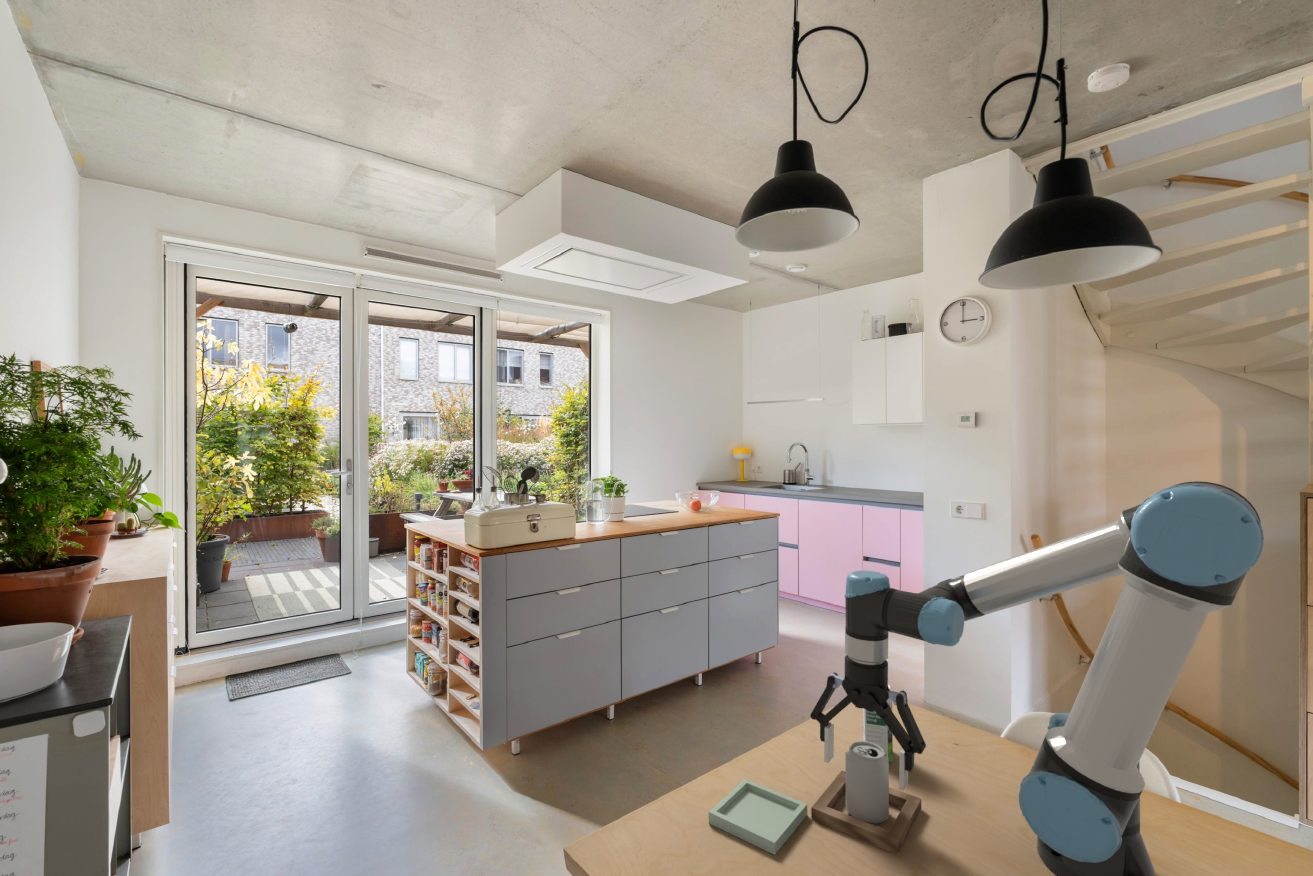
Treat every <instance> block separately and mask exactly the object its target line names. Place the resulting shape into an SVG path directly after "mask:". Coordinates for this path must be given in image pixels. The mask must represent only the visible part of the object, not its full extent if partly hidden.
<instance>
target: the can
mask: <svg viewBox="0 0 1313 876" xmlns="http://www.w3.org/2000/svg"><path fill="white" fill-rule="evenodd" d="M889 764H890V762H889V760H888V759H887V757H886V756H885V751H884V750H883V749H882V748H881V747H880V746H878V745H876V744H874V743H871V742H866V741H863V740H858V741H857V740H856V741H853V742H851V743H850V744H849V746H848V750H847V751H846V752H845V772H846V792H845V808H846V810H847V812H848V813H849V815H850V816H852V817H854V818H857V819H859V820H862V821H864V822H867V823H869V824H872V825H874V826H877V825H879V824H881V823H883V822H884V821H886V820H887V819H888V818H889V816H890V806H889V805H890V804H889V787H890V786H889V785H890V783H889V782H890V780H889V777H890V776H889V775H890V771H889V770H890V768H889V767H890V765H889Z"/></svg>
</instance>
